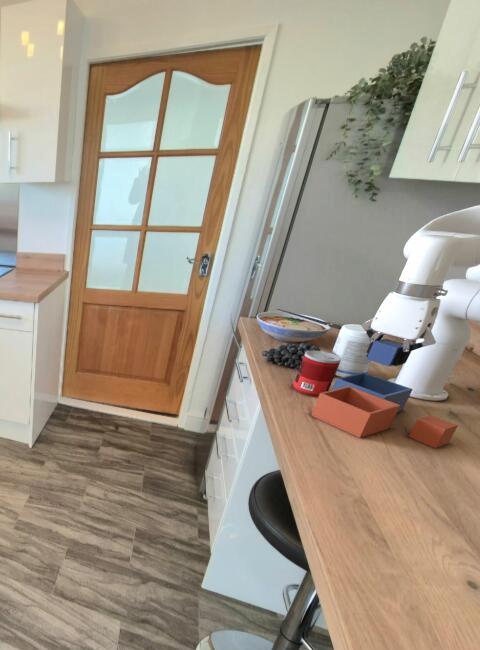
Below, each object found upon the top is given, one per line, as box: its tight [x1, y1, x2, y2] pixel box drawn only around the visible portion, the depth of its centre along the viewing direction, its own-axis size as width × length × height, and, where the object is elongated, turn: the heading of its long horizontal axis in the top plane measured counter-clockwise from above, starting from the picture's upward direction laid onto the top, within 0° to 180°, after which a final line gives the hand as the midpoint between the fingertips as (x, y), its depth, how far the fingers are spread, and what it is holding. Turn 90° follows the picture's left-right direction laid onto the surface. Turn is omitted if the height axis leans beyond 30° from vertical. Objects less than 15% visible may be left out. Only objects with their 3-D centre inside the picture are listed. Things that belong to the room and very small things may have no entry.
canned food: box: [293, 350, 341, 398], centre depth 120 cm, size 8×8×11 cm
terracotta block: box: [408, 414, 459, 449], centre depth 99 cm, size 5×5×5 cm
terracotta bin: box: [310, 386, 400, 439], centre depth 106 cm, size 11×11×6 cm
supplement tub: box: [331, 323, 373, 378], centre depth 130 cm, size 10×10×15 cm
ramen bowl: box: [256, 308, 343, 344], centre depth 159 cm, size 25×23×8 cm
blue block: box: [367, 338, 403, 367], centre depth 108 cm, size 5×5×5 cm
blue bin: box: [331, 372, 413, 413], centre depth 114 cm, size 11×11×6 cm
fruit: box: [261, 342, 321, 371], centre depth 137 cm, size 9×8×15 cm
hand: (384, 360), depth 109 cm, fingers closed on blue block, 5 cm apart
